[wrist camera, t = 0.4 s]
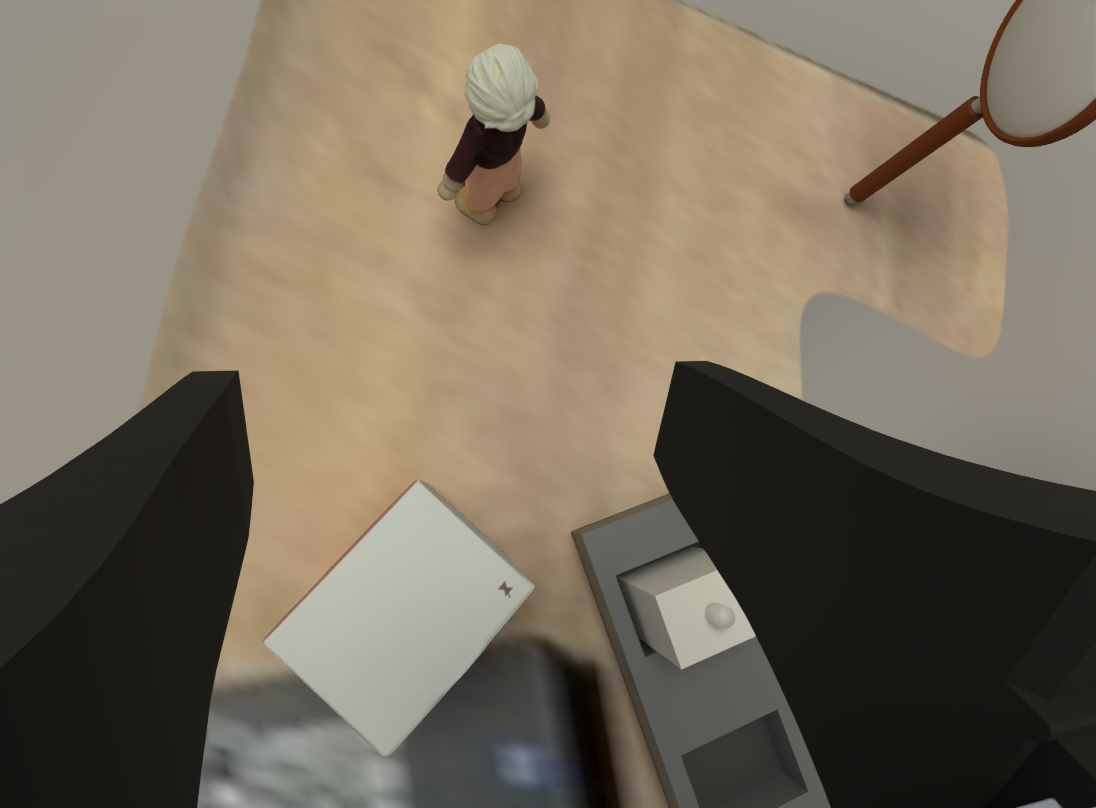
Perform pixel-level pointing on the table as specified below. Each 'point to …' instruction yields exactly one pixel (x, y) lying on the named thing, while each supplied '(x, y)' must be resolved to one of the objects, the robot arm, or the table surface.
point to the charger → (684, 607)
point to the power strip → (697, 686)
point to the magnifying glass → (1019, 86)
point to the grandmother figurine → (493, 132)
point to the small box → (400, 616)
